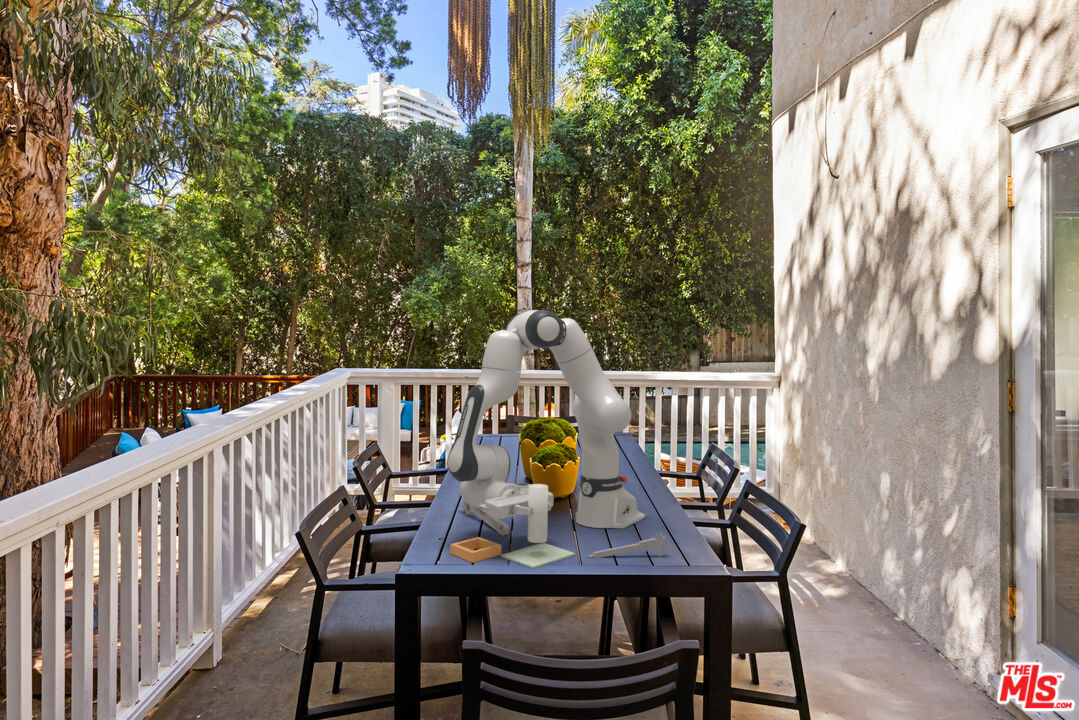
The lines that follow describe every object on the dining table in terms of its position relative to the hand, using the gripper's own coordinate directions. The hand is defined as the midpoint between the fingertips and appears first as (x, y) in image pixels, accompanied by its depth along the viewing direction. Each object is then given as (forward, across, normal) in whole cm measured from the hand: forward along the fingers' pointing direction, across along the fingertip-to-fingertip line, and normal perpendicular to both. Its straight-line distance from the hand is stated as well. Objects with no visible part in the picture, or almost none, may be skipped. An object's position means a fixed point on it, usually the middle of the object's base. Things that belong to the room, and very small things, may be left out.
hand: (540, 509), depth 185 cm
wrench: (-34, +9, +13) cm, 37 cm away
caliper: (+15, +17, +12) cm, 26 cm away
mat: (-1, 0, +12) cm, 12 cm away
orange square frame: (-13, -11, +12) cm, 21 cm away
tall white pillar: (-1, 0, +8) cm, 8 cm away
